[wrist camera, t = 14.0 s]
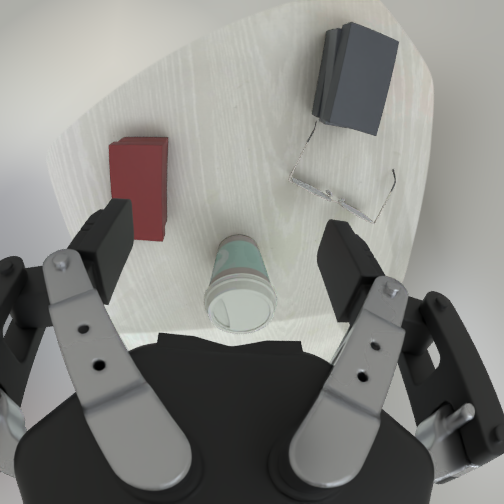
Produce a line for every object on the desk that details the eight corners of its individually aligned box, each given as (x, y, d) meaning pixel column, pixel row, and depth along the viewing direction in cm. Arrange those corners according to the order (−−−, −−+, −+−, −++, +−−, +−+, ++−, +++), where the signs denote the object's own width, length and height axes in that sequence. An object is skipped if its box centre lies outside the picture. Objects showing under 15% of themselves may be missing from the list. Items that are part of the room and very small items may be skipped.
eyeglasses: (282, 173, 35) (289, 183, 32) (311, 118, 32) (322, 121, 28) (365, 215, 39) (378, 227, 36) (393, 168, 36) (408, 177, 33)
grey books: (324, 28, 25) (346, 20, 19) (370, 43, 25) (400, 40, 20) (308, 116, 31) (326, 127, 25) (353, 126, 32) (379, 140, 26)
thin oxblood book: (113, 141, 28) (108, 145, 27) (165, 141, 29) (162, 145, 28) (120, 231, 35) (116, 238, 34) (165, 234, 36) (162, 241, 34)
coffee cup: (222, 217, 38) (219, 275, 29) (278, 238, 41) (293, 298, 31) (200, 264, 43) (193, 326, 33) (252, 281, 45) (258, 343, 35)
